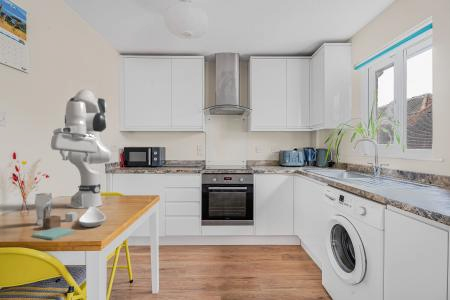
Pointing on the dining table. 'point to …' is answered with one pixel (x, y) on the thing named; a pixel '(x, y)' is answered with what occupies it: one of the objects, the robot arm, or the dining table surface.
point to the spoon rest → (92, 217)
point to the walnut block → (51, 222)
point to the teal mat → (53, 233)
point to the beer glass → (43, 206)
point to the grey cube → (71, 216)
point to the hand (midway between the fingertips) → (75, 160)
